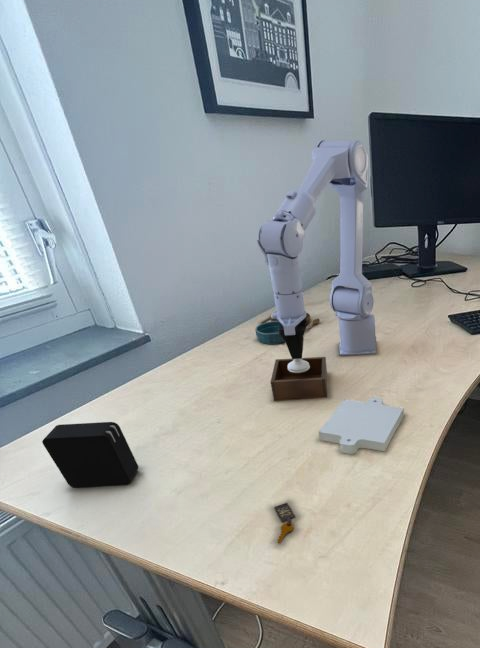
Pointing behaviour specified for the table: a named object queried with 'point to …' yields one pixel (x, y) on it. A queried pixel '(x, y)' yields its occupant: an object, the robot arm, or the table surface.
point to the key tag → (284, 518)
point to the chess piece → (298, 366)
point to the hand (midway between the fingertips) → (297, 355)
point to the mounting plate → (362, 425)
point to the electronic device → (91, 454)
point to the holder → (299, 380)
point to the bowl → (269, 333)
